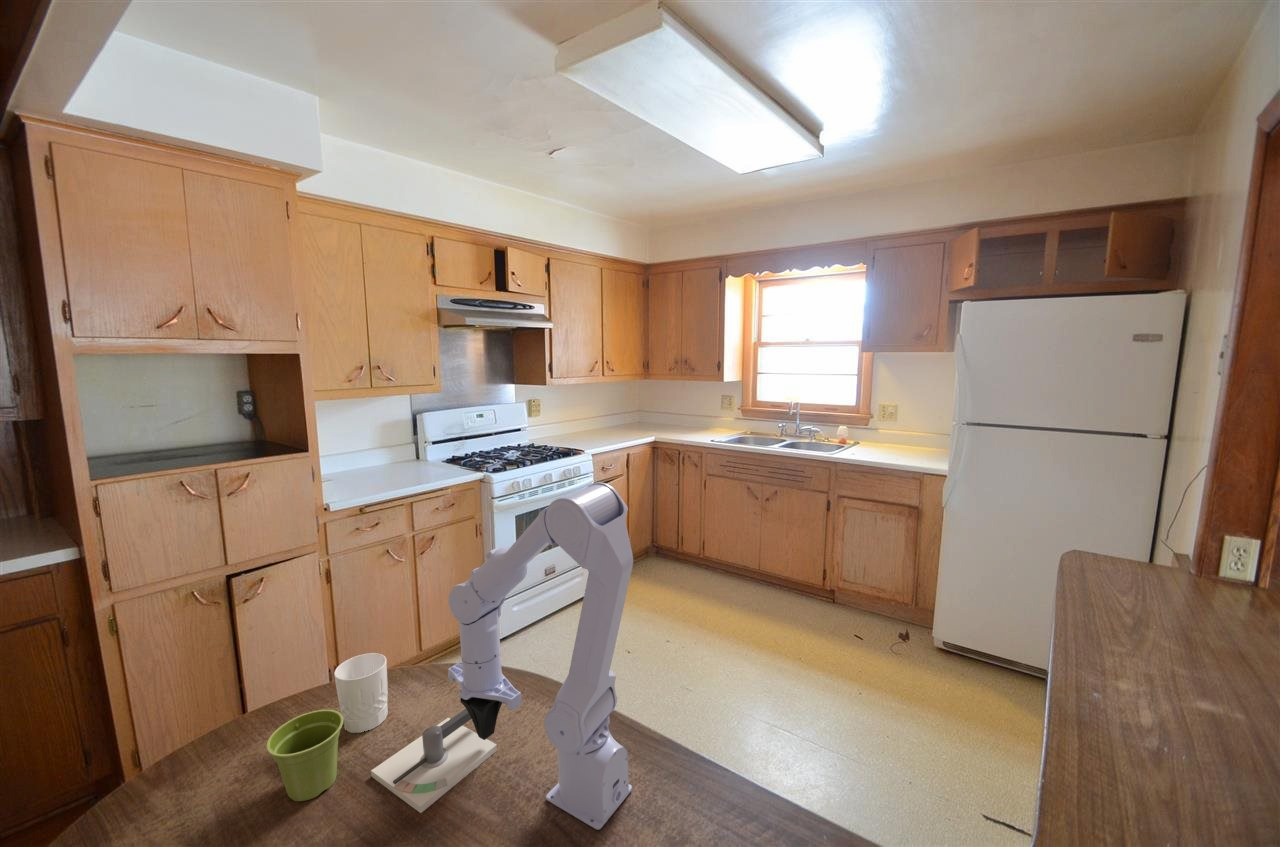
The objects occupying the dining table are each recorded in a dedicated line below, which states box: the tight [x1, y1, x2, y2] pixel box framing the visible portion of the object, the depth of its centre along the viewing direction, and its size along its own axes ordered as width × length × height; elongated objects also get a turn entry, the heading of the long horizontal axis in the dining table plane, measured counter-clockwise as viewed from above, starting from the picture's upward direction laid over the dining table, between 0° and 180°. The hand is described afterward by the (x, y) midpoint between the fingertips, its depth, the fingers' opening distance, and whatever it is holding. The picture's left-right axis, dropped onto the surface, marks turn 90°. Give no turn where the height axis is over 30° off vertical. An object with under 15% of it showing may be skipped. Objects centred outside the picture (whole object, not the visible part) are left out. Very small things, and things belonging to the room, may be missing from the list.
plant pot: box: [266, 709, 344, 802], centre depth 76 cm, size 9×9×9 cm
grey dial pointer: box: [393, 708, 472, 784], centre depth 81 cm, size 16×3×4 cm, turn 147°
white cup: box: [333, 652, 389, 734], centre depth 90 cm, size 8×8×10 cm
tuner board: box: [370, 717, 498, 814], centre depth 80 cm, size 12×14×1 cm
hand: (486, 734), depth 82 cm, fingers closed
